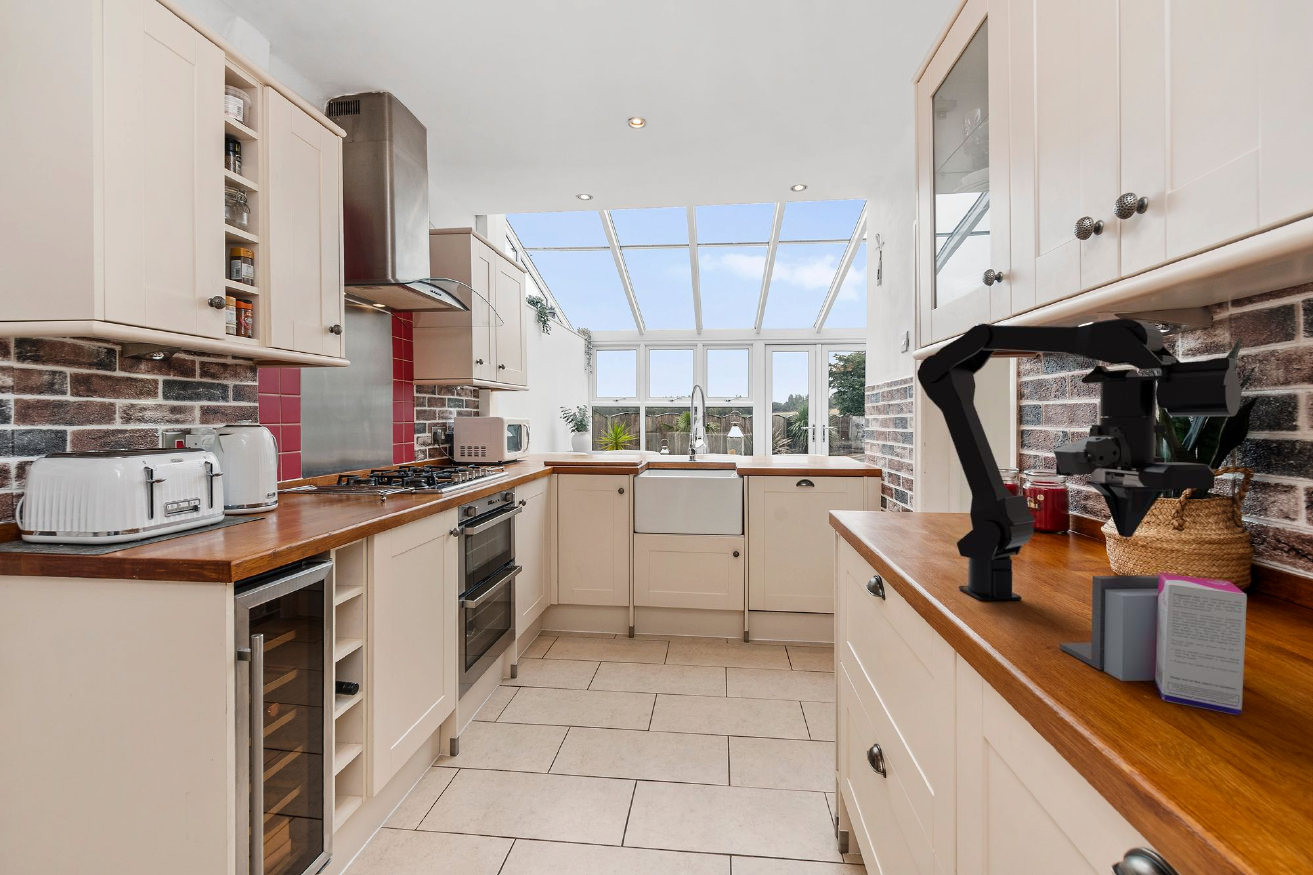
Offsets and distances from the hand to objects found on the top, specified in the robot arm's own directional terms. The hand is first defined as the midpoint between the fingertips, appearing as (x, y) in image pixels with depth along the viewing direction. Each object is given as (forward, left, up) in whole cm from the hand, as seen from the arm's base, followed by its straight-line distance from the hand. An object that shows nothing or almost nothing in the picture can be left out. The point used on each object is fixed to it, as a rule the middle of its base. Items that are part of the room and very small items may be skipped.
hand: (1125, 536), depth 78 cm
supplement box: (+19, -9, -12) cm, 24 cm away
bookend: (+10, -9, -12) cm, 18 cm away
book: (+14, -9, -12) cm, 21 cm away
